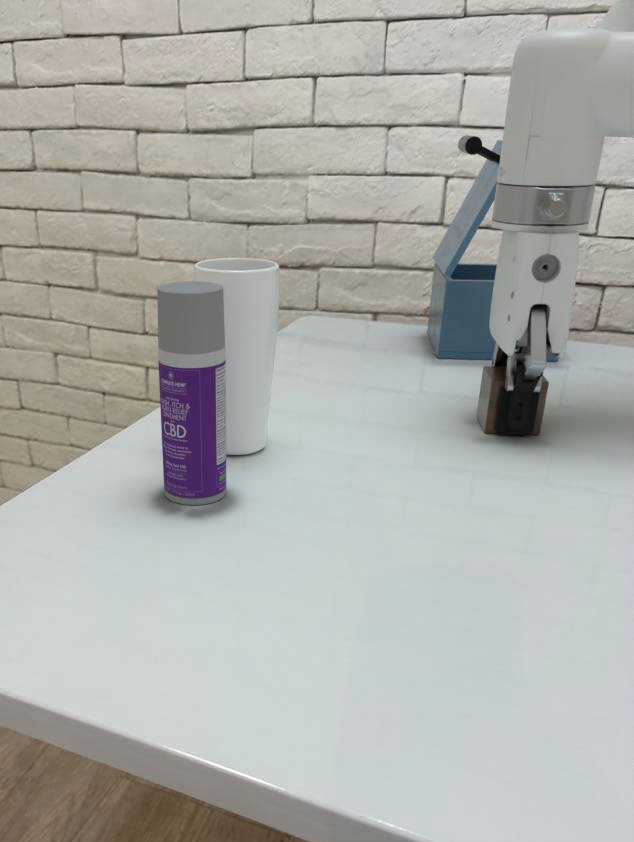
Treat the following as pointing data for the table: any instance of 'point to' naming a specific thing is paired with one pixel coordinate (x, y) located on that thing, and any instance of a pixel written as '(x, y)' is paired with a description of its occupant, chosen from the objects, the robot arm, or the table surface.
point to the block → (491, 392)
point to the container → (192, 390)
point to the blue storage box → (463, 313)
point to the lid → (470, 205)
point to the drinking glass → (246, 344)
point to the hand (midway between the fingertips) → (507, 421)
